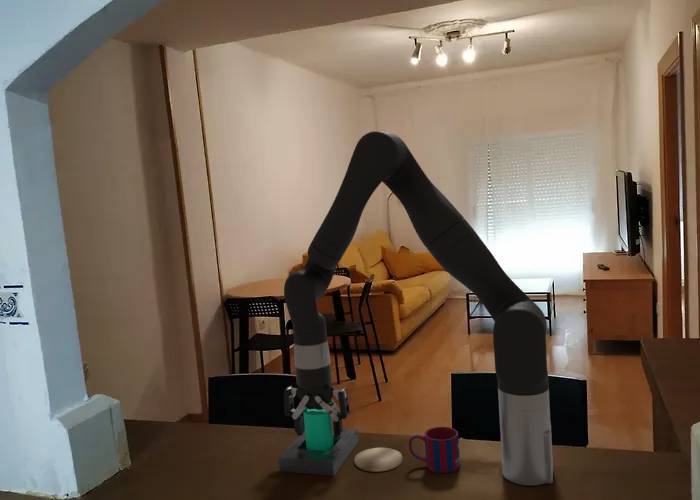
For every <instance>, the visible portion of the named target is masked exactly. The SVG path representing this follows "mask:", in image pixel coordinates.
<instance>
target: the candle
mask: <svg viewBox="0 0 700 500" xmlns="http://www.w3.org/2000/svg"><path fill="white" fill-rule="evenodd" d="M329 407H330V406H329ZM302 414H303V415H302V416H303V423H304V430H305V438H306V449H307V450H315V451H329V452H330V451H331V450H332V448H333V447H334V443H333V431H332V428H333V421H332V420H333V419H332V417H331V416H330V415H329V414H327V413H326V412H325V410H324V409H322V410H317V409H312V410H310V409H308V408H305V409H304V411H303V412H302Z"/></svg>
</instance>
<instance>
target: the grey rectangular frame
mask: <svg viewBox="0 0 700 500" xmlns="http://www.w3.org/2000/svg"><path fill="white" fill-rule="evenodd" d="M332 431H333V443H334V447H333V448H332V450H331V451H330V452H329V451H315V450H307V449H306V438H305V429H304V433H303V434H302V435H301V436H299V435H297V437H296V439H294V440H293V442H291V443H290V444H289V445H288V446H287V448H286V449H285V450H284V451H283V452H282V453H280V455H279V456H278V467H279V472H286V473H296V474H297V473H298V474H309V475H311V474H312V475H319V476H320V475H321V476H331V477H335V476H336V473H337V472H338V471H339V469H340V468H341V467H342V466H343V464H344V462H346V460H347V459H348V457H349V456H350V454H352V452H353V450H354V449H355V448H356V446H357V445H358V443H359V431H358V428H345V427H343V432H342V433H341V435H340V436H339V437H338V438H334V429H333V427H332Z"/></svg>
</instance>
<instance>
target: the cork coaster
mask: <svg viewBox="0 0 700 500" xmlns="http://www.w3.org/2000/svg"><path fill="white" fill-rule="evenodd" d="M402 463H403V455H402V453H401V452H400V451H398V450H396V449H393V448H388V447H373V448H368V449H365V450H362V451H361V452H358V453H357V454H356V455H355V457H354V465H355V466H356V467H357V468H358V469H360V470H362V471H366V472H373V473H379V472H386V471H390V470H394V469H395V468H398V467H399V466H400V465H401V464H402Z"/></svg>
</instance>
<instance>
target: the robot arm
mask: <svg viewBox="0 0 700 500" xmlns="http://www.w3.org/2000/svg"><path fill="white" fill-rule="evenodd" d="M381 183H383V184H384V185H385V186H386V187H387V188H388V189H389V190H390V192H392V193H393V195H394V196H395V197H396V198H397V199H398V201H399V202H400V203H401V204H402V206H403V208H404V209H405V211H406V213H407V216H408V218H409V221H410V222H411V225H412V227H413V228H414V230H415V231H414V232H415V233H416V235H417V236H418V238H419V241H421V243H422V244H423V246H424V247H425V248H426V249H427V251H428V252H429V253H430V254H431V256H432V257H433V258H434V259H435V260H436V262H437V263H438V264H439V265H440V266H441V267H442V269H443V270H445V272H447V273H448V274H449V275H450V276H452V277H453V278H454V279H455V280H456V281H458V282H459V283H460V284H462V286H464V287H465V288H467V289H468V290H469V291H470V292H471V293H473V294H474V295H475V296H476V298H477V299H478V301H479V302H480V303H481V304H482V305H483V307H484V308H485V310H486V311H487V312H488V314H489V316H490V317H491V318H492V320H493V322H494V323H493V327H492V328H493V331H492V341H493V342H492V343H493V354H494V355H493V357H494V370H495V375H496V378H497V391H498V392H497V394H498V413H499V430H500V448H501V449H500V450H501V467H502V476H503V477H504V479H506V480H508V481H510V482H511V483H514V484H517V485H522V486H541V485H544V484H553V483H554V481H553V480H554V477H553V475H554V463H553V462H554V461H553V442H552V423H551V409H550V385H549V372H548V371H549V370H548V360H547V358H548V357H547V356H548V355H547V337H546V336H547V335H546V334H547V329H548V327H547V325H548V324H547V318H546V316H545V314H544V312H543V311H542V309H541V308H540V307H539V306H538V304H536V303H535V302H534V301H533V300H532V299H531V297H529V295H527V294H526V293H525V292H524V291H523V289H521V288H520V287H519V286H518V285H517V284H516V283H515V282H514V281H513V280H512V278H511V277H510V276H509V275H508V274H507V273H506V272H505V271H504V269H503V267H501V265H500V264H499V262H498V260H497V259H496V258H495V256H494V255H493V253H492V252H491V251H490V249H489V248H488V247H487V245H486V244H485V243H484V241H483V240H482V239H481V237H480V236H479V235H478V233H477V231H475V229H474V228H473V227H472V226H471V224H470V223H469V222H468V221H467V220H466V218H465V217H464V216H463V215H462V213H461V212H459V210H458V209H457V208H456V207H455V206H454V204H452V203H451V201H450V200H449V199H448V197H446V196H445V194H443V193H442V192H441V191H440V189H438V187H437V186H436V185H435V184H434V183H433V182H432V181H431V180H430V179H429V177H428V176H427V174H426V173H425V171H424V170H423V169H422V167H421V165H420V164H419V162H418V161H417V160H416V158H415V157H414V155H413V153H412V152H411V150H410V149H409V147H408V146H407V144H406V143H405V141H404V140H403V139H402V138H401V137H400V136H398V135H397V134H394V133H392V132H389V131H382V130H373V131H369V132H367V133H365V134H364V135H363V136H361V138H359V139H358V141H357V143H356V145H355V147H354V149H353V152H352V155H351V158H350V159H349V163H348V166H347V170H346V172H345V175H344V177H343V180H342V182H341V184H340V186H339V190H338V191H337V193H336V196H335V198H334V200H333V202H332V204H331V206H330V208H329V210H328V212H327V213H326V215H325V217H324V219H323V221H322V223H321V224H320V226H319V228H318V230H317V232H315V235H314V236H313V238H312V240H311V241H310V242H311V243H310V244H309V247H308V249H307V256H308V258H307V260H306V262H305V264H304V266H303V267H302V269H300V270H298V271H294V272H292V273H291V274H290V275H288V277H287V278H286V279H285V283H284V286H283V297H284V302H285V304H286V309H287V312H288V315H289V318H290V320H291V323H292V333H293V334H292V335H293V344H294V346H293V355H294V356H293V357H294V358H293V362H294V370H295V380H296V385H297V386H296V387H293V386H292V385H289V386H287V387H285V389H284V390H283V407H284V408H283V412H284V416H286V417H291V418H292V419H293V426H294V432H295V433H296V434H297V436H301V435H302V434H303V433H304V430H305V427H304V415H302V414H303V411H304V409H305V408H308V409H310V410H312V409H317V410H322V409H324V410H325V412H326V413H327V414H329V415H330V416H331V419H332V420H333V421H332V428H333V429H334V438H338V437H339V436H340V435H341V433H342V432H343V428H344V427H343V420H346V419H347V418H348V416H349V415H350V414H351V410H350V402H349V395H348V389H347V388H346V387H343V388H341V389H334V387H333V384H332V383H333V378H332V367H331V357H330V356H331V355H330V348H329V343H328V335H327V334H328V333H327V323H326V318H325V316H324V315H323V314H322V313H320V312H319V310H318V307H317V300H318V299H320V298H321V297H322V296H324V294H325V293H326V291H327V290H328V289H329V286H330V285H331V282H332V280H333V277H334V276H335V272H336V270H337V266H338V264H339V263H340V262H341V260H342V258H343V257H344V255H345V253H346V251H347V250H348V248H349V247H350V244H351V243H352V242H353V241H352V240H353V239H354V236H355V234H356V232H357V229H358V227H359V223H360V220H361V218H362V215H363V213H364V211H365V207H366V206H367V203H368V202H369V200H370V199H371V197H372V195H373V193H374V192H375V191H376V190H377V189H378V188H379V186H380V185H381ZM296 396H297V398H298V400H300V402H299V403H298V406H297V407H296V409H295V400H294V399H295V397H296ZM334 397H335V398H336V401H338V404H339V406H338V405H337V403H336V402H335V401H334V399H333V398H334ZM329 406H330V407H329Z"/></svg>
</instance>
